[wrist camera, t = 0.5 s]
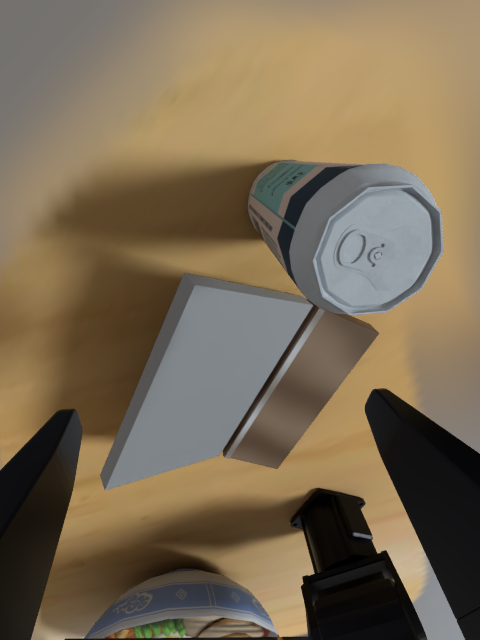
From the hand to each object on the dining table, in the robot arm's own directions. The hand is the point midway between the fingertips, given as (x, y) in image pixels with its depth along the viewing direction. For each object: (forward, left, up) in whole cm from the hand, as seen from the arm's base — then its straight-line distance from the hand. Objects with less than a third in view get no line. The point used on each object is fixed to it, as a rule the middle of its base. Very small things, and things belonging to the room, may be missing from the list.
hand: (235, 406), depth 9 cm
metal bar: (-7, -10, -13) cm, 18 cm away
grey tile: (-7, -2, -10) cm, 13 cm away
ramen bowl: (-40, -13, -14) cm, 44 cm away
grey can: (+6, -2, -14) cm, 15 cm away
